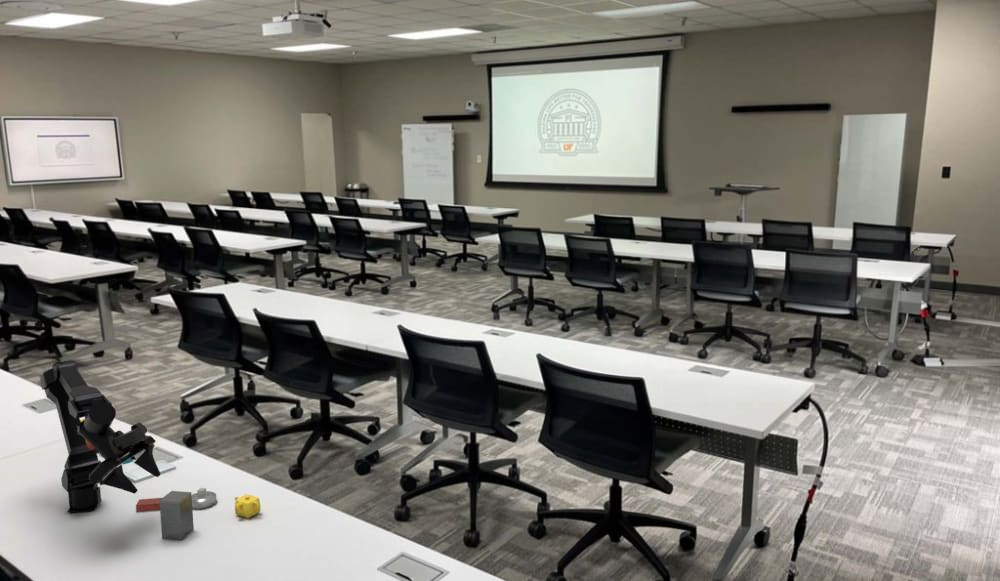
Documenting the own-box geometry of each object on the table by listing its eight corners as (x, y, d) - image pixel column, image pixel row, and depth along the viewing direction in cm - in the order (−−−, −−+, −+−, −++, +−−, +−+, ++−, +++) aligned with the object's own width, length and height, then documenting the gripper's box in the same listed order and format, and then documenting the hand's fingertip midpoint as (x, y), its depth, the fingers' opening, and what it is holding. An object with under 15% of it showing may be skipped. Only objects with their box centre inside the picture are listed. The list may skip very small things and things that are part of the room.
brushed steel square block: (162, 538, 177) (159, 500, 175) (174, 528, 182) (171, 490, 180) (182, 540, 176) (179, 501, 174) (193, 529, 181) (191, 492, 180)
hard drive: (161, 459, 221) (120, 472, 211) (176, 465, 216) (134, 479, 207) (161, 464, 222) (120, 477, 212) (176, 471, 217) (135, 485, 207)
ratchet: (134, 515, 188) (133, 500, 188) (141, 503, 195) (140, 488, 194) (214, 508, 192) (213, 494, 192) (218, 497, 199) (217, 482, 198)
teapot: (225, 516, 188) (224, 498, 187) (242, 507, 193) (242, 489, 192) (248, 524, 185) (247, 504, 184) (265, 514, 190) (264, 495, 189)
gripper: (96, 430, 166) (144, 479, 167) (146, 404, 185) (189, 448, 185) (68, 461, 169) (115, 509, 169) (119, 432, 187) (162, 475, 187)
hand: (148, 483), depth 178 cm, fingers open, 9 cm apart
